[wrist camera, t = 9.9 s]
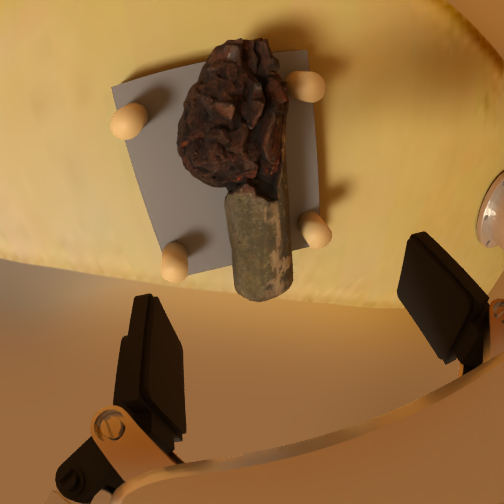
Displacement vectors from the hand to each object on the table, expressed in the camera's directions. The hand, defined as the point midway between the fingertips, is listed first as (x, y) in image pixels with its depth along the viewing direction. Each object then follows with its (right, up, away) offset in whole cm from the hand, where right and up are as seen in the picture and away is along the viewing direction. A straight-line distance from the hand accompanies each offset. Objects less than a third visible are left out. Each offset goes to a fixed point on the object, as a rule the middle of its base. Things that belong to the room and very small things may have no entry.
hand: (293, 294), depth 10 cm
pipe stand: (-3, +8, +12) cm, 15 cm away
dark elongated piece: (-3, +7, +10) cm, 13 cm away
